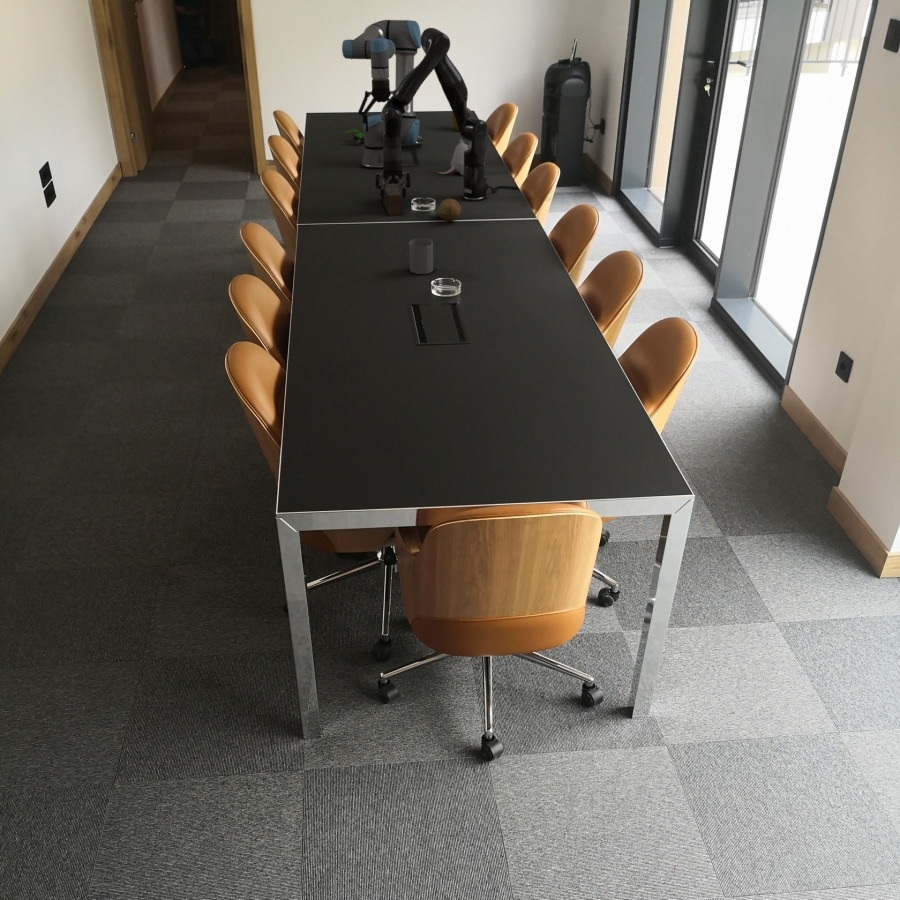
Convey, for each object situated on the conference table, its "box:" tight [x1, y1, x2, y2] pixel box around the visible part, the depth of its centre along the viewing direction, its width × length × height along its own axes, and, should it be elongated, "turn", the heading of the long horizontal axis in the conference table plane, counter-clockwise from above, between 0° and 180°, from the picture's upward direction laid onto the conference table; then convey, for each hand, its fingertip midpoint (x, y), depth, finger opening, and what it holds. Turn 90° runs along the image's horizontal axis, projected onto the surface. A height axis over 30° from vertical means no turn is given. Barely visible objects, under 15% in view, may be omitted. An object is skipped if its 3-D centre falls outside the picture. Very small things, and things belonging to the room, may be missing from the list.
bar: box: [380, 179, 402, 216], centre depth 369 cm, size 24×5×8 cm, turn 11°
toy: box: [437, 138, 472, 176], centre depth 408 cm, size 9×24×15 cm, turn 137°
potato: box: [437, 198, 462, 222], centre depth 353 cm, size 10×14×8 cm
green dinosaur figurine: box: [343, 129, 365, 146], centre depth 465 cm, size 6×13×30 cm
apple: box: [451, 107, 472, 132], centre depth 487 cm, size 11×11×13 cm
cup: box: [408, 237, 434, 275], centre depth 305 cm, size 8×8×10 cm
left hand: (382, 130), depth 379 cm, fingers open, 13 cm apart
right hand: (393, 198), depth 360 cm, fingers open, 8 cm apart
